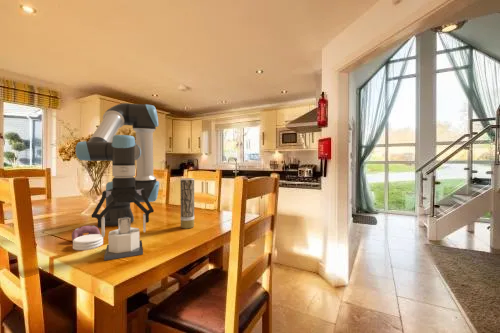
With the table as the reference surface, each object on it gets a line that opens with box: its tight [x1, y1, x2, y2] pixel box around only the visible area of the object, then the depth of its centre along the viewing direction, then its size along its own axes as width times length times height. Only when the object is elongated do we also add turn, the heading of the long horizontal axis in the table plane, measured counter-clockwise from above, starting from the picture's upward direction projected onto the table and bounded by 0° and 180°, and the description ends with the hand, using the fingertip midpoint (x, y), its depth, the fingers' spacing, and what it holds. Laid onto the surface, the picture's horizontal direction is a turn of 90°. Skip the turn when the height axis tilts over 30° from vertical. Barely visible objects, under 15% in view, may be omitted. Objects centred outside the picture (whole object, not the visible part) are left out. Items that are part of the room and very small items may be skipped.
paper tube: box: [180, 177, 195, 229], centre depth 119 cm, size 7×7×25 cm
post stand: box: [103, 217, 144, 261], centre depth 87 cm, size 12×12×12 cm
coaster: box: [72, 233, 104, 251], centre depth 93 cm, size 10×10×4 cm
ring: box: [107, 226, 141, 253], centre depth 87 cm, size 10×10×6 cm
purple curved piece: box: [71, 225, 101, 241], centre depth 100 cm, size 10×5×7 cm, turn 136°
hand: (124, 233), depth 87 cm, fingers open, 13 cm apart
